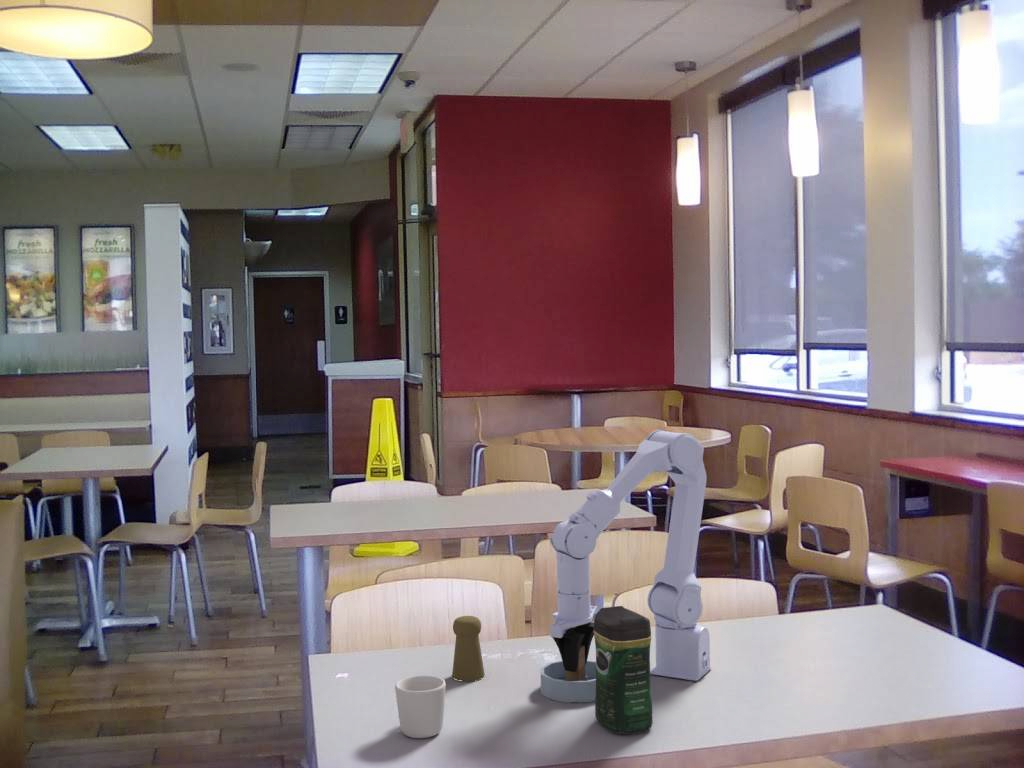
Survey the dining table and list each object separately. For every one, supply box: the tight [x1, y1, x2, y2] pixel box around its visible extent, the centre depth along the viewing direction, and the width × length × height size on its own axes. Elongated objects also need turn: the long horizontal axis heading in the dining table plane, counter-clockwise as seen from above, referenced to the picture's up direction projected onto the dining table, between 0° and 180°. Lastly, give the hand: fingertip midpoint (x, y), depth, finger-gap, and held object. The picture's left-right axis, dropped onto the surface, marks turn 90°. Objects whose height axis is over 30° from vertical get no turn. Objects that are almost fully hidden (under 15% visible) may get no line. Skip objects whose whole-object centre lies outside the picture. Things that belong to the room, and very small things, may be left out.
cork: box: [451, 615, 486, 682], centre depth 192 cm, size 6×6×11 cm
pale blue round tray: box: [539, 659, 596, 704], centre depth 184 cm, size 12×12×4 cm
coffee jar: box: [593, 605, 654, 735], centre depth 167 cm, size 10×8×19 cm
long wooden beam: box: [566, 645, 585, 681], centre depth 184 cm, size 2×2×7 cm
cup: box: [394, 674, 447, 739], centre depth 167 cm, size 11×8×8 cm
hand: (575, 667), depth 184 cm, fingers open, 3 cm apart
